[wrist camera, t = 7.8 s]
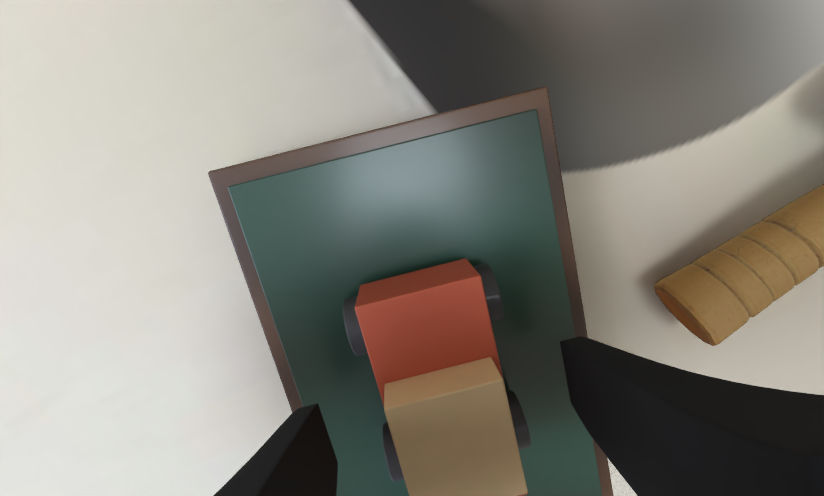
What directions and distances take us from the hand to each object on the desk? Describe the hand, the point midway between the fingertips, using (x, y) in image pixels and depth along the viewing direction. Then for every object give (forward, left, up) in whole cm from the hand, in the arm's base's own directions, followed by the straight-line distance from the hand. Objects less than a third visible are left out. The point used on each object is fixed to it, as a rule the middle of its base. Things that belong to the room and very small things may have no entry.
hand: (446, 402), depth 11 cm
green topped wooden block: (0, 0, -5) cm, 5 cm away
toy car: (0, 0, -2) cm, 2 cm away
